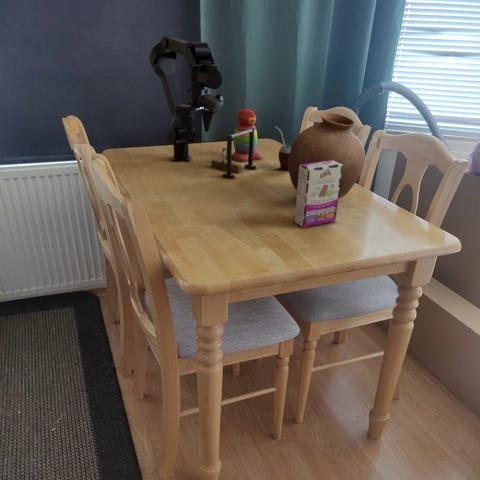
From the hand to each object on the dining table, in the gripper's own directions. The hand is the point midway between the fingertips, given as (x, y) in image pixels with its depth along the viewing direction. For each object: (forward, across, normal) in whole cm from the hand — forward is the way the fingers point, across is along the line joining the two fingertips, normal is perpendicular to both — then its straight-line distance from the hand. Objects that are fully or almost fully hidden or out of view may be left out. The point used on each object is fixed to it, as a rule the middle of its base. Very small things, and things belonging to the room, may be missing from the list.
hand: (198, 133), depth 169 cm
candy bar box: (+12, -21, -57) cm, 62 cm away
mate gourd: (+12, +19, -26) cm, 34 cm away
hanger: (+12, +5, -9) cm, 16 cm away
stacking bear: (+12, +23, -5) cm, 26 cm away
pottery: (+12, -1, -50) cm, 51 cm away
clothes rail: (+12, +5, -15) cm, 20 cm away
